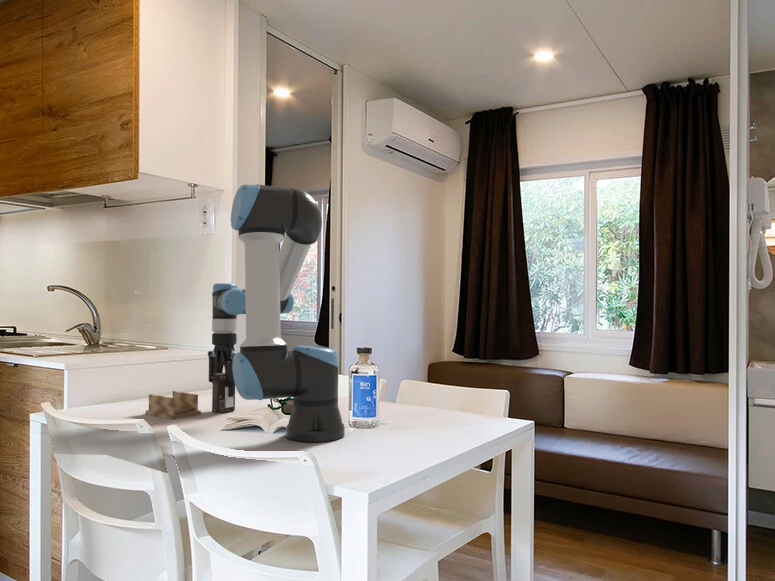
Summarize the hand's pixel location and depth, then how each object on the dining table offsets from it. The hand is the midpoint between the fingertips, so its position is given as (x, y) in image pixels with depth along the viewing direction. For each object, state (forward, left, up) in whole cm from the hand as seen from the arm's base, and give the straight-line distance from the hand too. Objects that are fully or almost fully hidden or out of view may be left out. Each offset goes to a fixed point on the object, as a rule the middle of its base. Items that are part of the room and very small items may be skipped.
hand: (223, 406), depth 188 cm
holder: (+9, +12, -2) cm, 15 cm away
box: (0, 0, -2) cm, 2 cm away
